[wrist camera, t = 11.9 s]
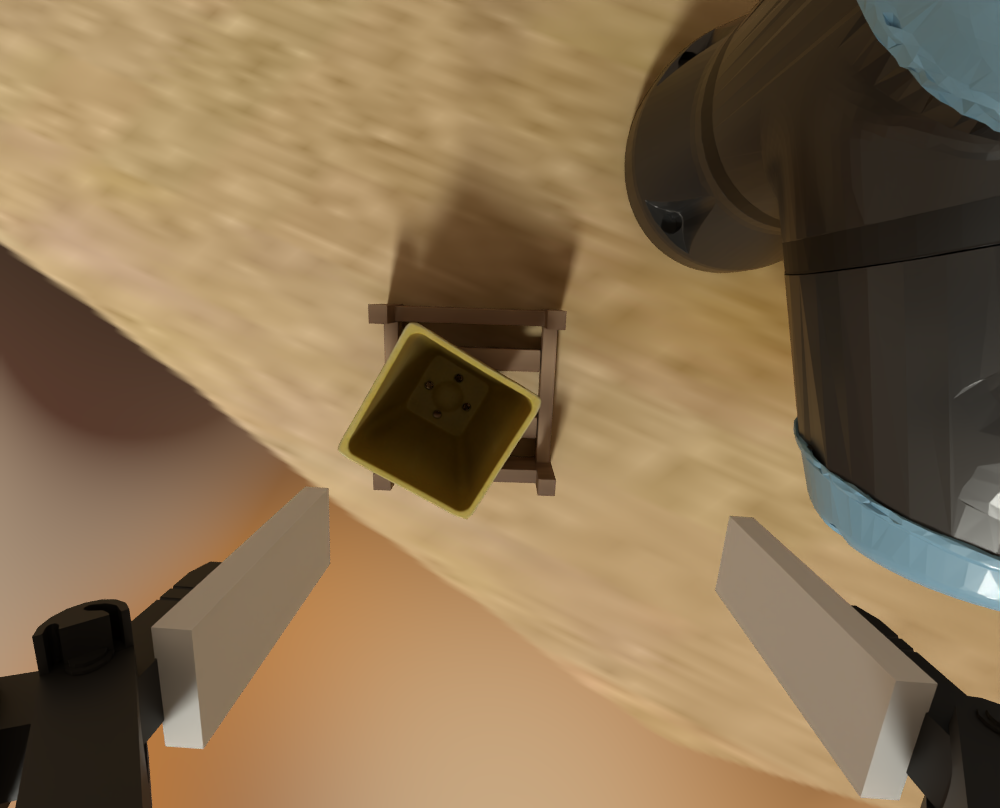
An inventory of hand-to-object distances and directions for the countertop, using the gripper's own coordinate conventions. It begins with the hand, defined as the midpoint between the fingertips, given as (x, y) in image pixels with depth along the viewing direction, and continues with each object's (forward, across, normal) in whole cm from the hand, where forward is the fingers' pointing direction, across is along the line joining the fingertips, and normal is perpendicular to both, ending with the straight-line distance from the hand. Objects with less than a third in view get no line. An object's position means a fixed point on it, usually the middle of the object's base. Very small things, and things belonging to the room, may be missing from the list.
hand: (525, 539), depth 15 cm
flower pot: (+20, -5, 0) cm, 21 cm away
